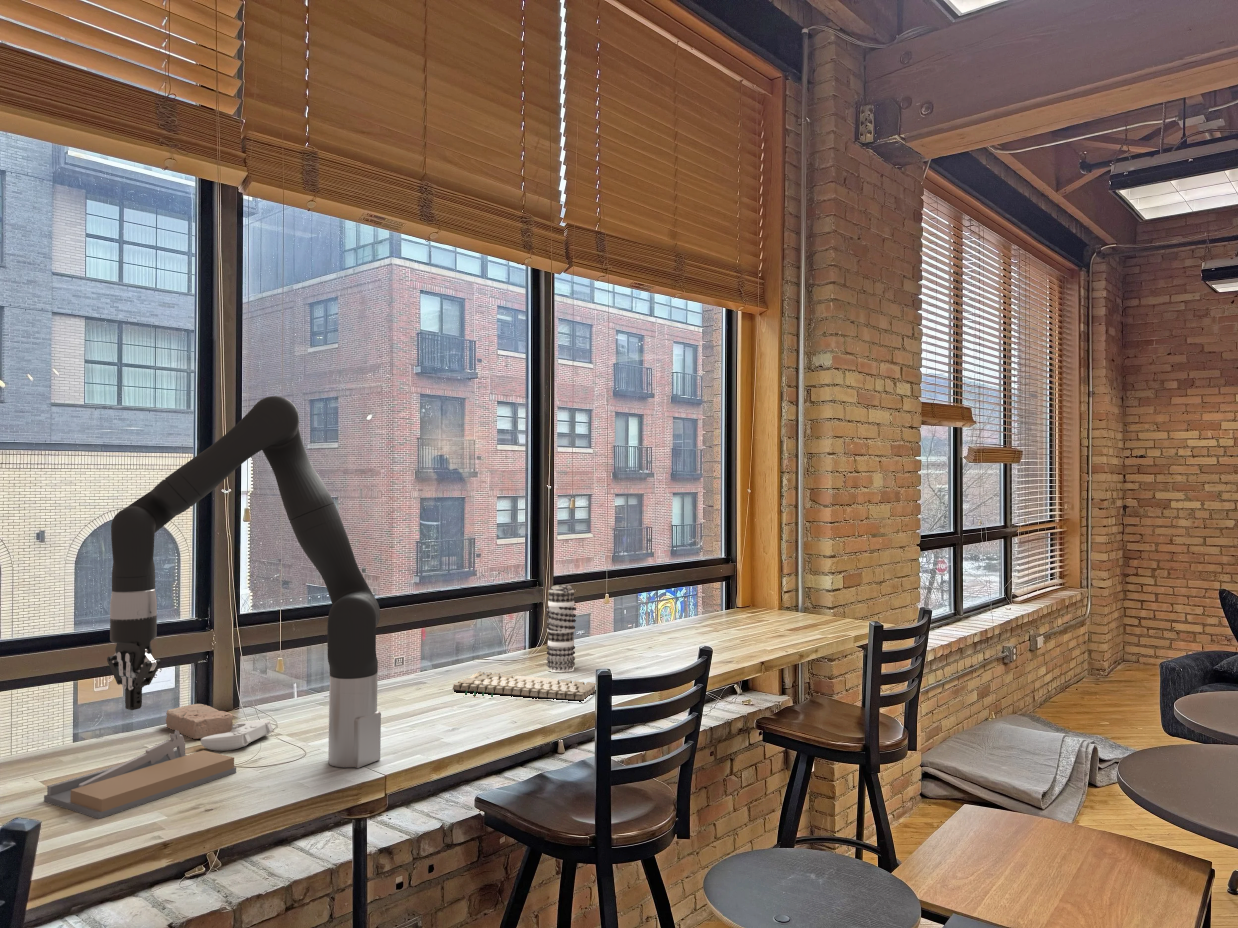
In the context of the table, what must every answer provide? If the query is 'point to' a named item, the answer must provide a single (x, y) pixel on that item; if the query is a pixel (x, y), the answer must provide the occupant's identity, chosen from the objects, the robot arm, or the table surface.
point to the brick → (199, 721)
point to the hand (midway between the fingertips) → (133, 708)
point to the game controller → (238, 735)
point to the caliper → (145, 758)
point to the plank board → (139, 784)
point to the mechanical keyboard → (524, 687)
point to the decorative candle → (561, 628)
